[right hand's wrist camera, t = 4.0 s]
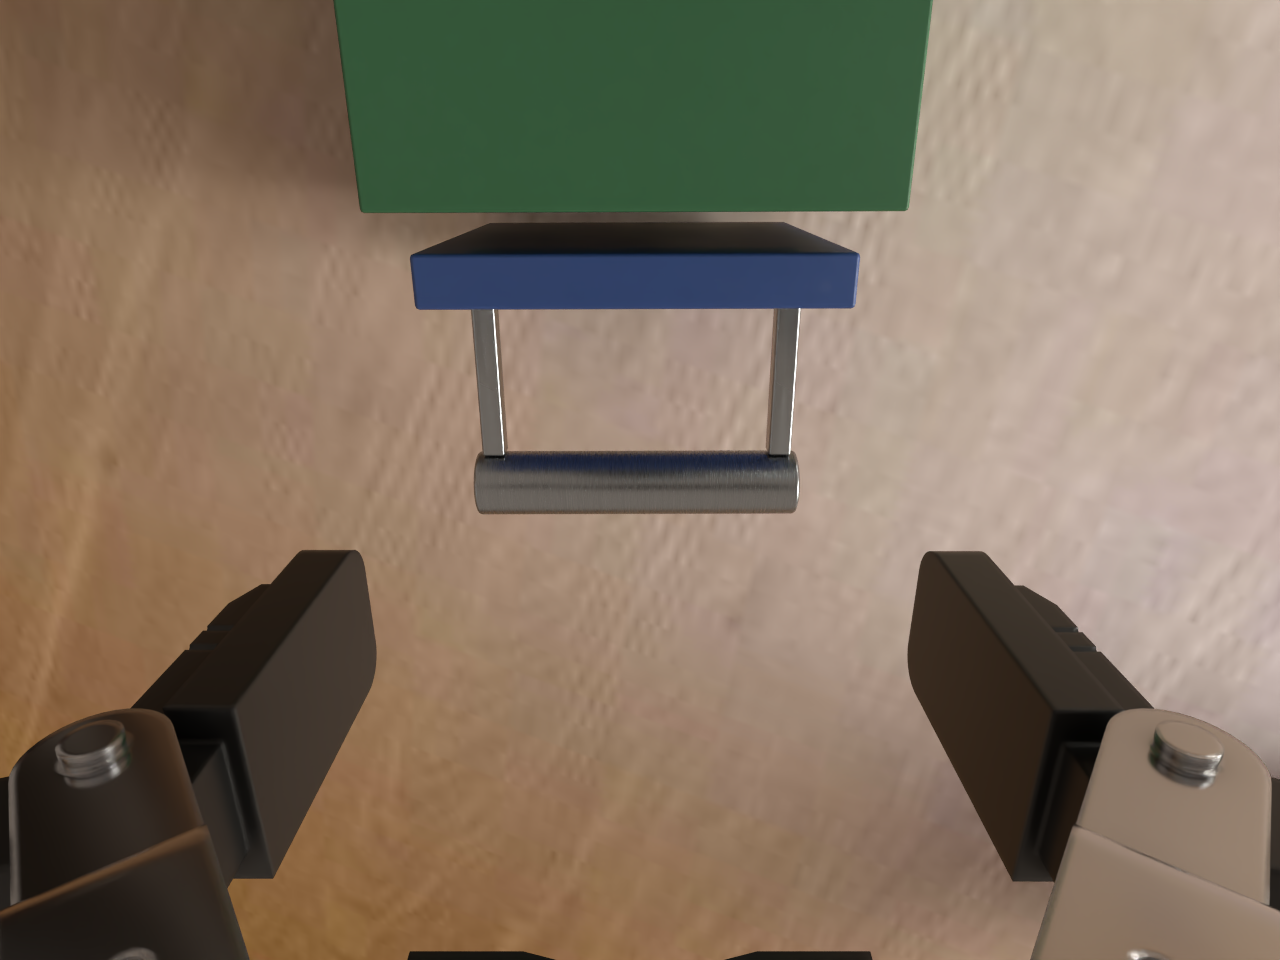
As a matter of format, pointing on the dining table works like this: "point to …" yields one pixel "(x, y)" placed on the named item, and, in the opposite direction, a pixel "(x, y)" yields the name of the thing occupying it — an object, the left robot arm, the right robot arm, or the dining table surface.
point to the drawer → (635, 279)
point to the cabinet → (633, 104)
